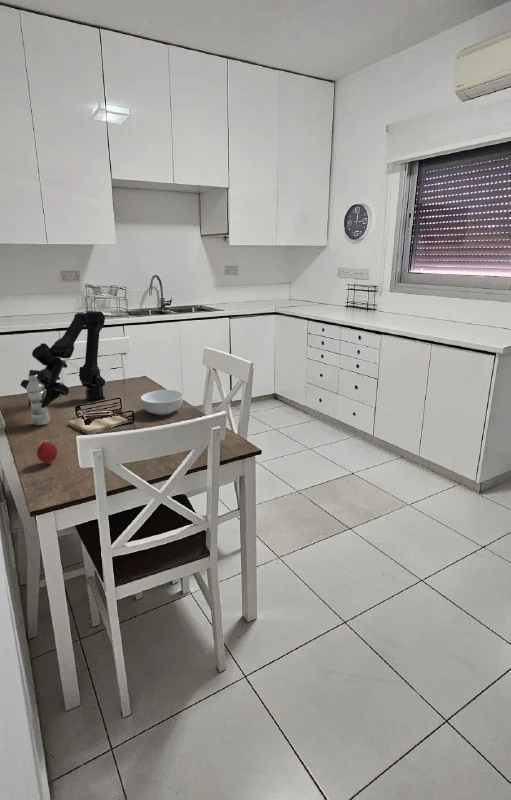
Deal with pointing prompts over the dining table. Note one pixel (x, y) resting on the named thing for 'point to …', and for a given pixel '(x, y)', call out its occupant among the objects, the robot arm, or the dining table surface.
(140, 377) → the dining table surface
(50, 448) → the onion
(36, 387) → the plastic bottle
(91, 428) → the birch board
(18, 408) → the dining table surface
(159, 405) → the cereal bowl
